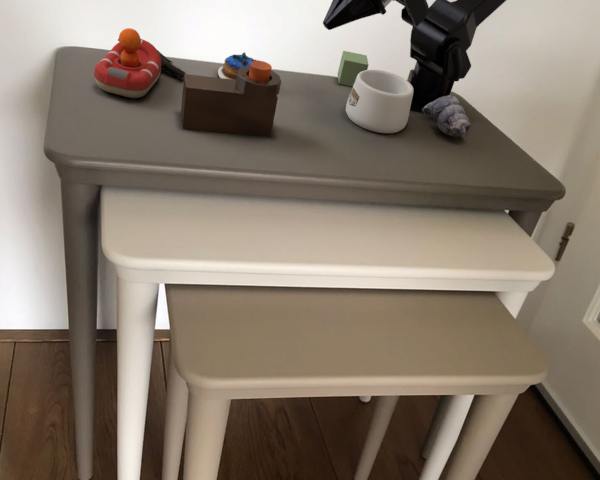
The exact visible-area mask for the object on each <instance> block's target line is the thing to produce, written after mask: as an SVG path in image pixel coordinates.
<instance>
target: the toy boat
mask: <svg viewBox="0 0 600 480" xmlns="http://www.w3.org/2000/svg"><path fill="white" fill-rule="evenodd" d="M118 39H119V41H118V42H117V43H116V44H115V45H113V47H112V48H111V49H110V50H109V52H107V54H106V55H105V56H104V57H103V58H102V59H101V60H100V61H99V62H98V63H97V64H96V65H95V68H94V71H93V77H94V80H95V82H96V85H97V86H98V87H99V89H101V90H103V91H105V92H107V93H110V94H114V95H116V96H117V95H118V96H122V97H125V98H129V99H139V98H141V97H144V96H145V95H147V93H148V92H149V91H150V89H151V88H152V87H153V86H154V85H155V83H156V82H158V80H159V78H160V75H161V72H162V69H161V57H160V54H159V52H160V51H159V50H158V49H157V48H156V47H155V45H154V44H152V43H151V42H150V41H147V40H145V39H143V38H141V36H140V34H139V32H138V31H137V30H136V29H134V28H131V27H129V28H123V30H121V32H120V33H119V35H118ZM157 50H158V51H159V52H158V51H157Z"/></svg>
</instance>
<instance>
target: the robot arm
mask: <svg viewBox="0 0 600 480" xmlns="http://www.w3.org/2000/svg"><path fill="white" fill-rule="evenodd" d="M394 1H395V2H397V3H398V4H400V5H402V6H403V8H402V9H401V12H400V13H401V14H400V17H401V20H402V21H403V22H405V23H406V24H408V25H410V26H411V27H412V28H411V32H410V39H409V41H410V47H409V57H410V58H411V59H414V61H416V62H415V64H414V67H413V68H411V69H410V70H409V73H408V76H407V79H406V80H407V81H408V82H409V83H410V84H411V85H412V87H413V97H412V102H411V107H410V110H414V111H419V112H423V111H422V108H424V107H425V106H426V105H427V104H429V103H431V102H433V101H435V100H437V99H438V98H441V97H444V96H448V95H449V96H451V92H452V89H453V87H454V84H455V82H459V81H460V80H462V79H465V78H466V76H467V75H468V73H469V71H470V69H472V63H471V61H470V58H469V55H468V50H469V48H471V46H472V43H473V40H474V37H475V34H476V31H477V28H478V27H479V26H480V25H481V24H483V22H484V21H485V20H486V19H488V18H489V17H490V16H491V15H492V14H493V13H494V12H496V11H497V9H499V8H500V7H501V6H502V5H504V4H505V2H506V1H507V0H454V1H449V0H434V2H433V3H432V4H431V5H430V6H429V4H428V1H427V0H332V2H331V3H330V6H329V8H328V10H327V12H326V15H325V17H324V19H323V21H322V25H323V26H324V28H325V29H326V30H328V31H331V30H334V29H337V28H339V27H343V26H345V25H347V24H350V23H352V22H355V21H358V20H361V19H364V18H369V17H372V16H375V15H379V14H380V15H382V16H384V15H386V13H387V9H386V7H387V6H388V5H390V3H391V2H394Z"/></svg>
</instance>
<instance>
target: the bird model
mask: <svg viewBox="0 0 600 480" xmlns="http://www.w3.org/2000/svg"><path fill="white" fill-rule="evenodd" d="M117 41H118V42H119V38H118V39H117ZM157 51H158V52H159V54H160V57H161V70H164V72H167V73H168V74H171V75H172V76H173V77H175V78H180V79H184V74H187V73H186V72H185V71H184V70H182V69H181V68H179V67H177V66H175V64H174V61H172V60H170V59H169V58H167V57H166V56H165V55H164V54H163V53H162V52H161V51H160V50H158V49H157Z"/></svg>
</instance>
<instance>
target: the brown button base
mask: <svg viewBox="0 0 600 480" xmlns="http://www.w3.org/2000/svg"><path fill="white" fill-rule="evenodd" d="M249 69H250V66H246V67H241V68H240V69H239V70H238V71H237V77H236V80H232V79H224V78H220V77H215V76H214V77H213V76H207V75H197V74H189V73H186V74H184V77H183V83H182V95H181V107H180V119H181V128H182V129H187V130H197V131H205V132H206V131H207V132H217V133H225V134H226V133H228V134H237V135H247V136H248V135H249V136H259V137H269V138H271V137H272V131H273V126H274V122H275V121H274V120H275V115H276V111H277V104H278V100H279V97H278V95H279V94H280V89H281V85H282V79H281V76H280V75H279V74H278V73H276V72H275V71H274V70H273V69H271V75H270V80H269V81H266V82H264V81H257V80H254V79H251V78H250V77H249Z"/></svg>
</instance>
